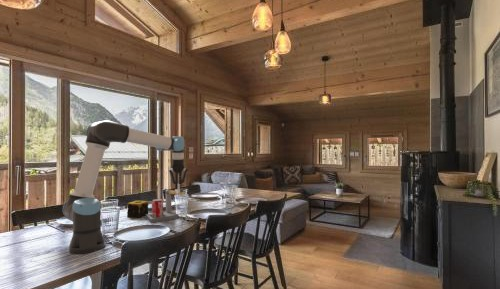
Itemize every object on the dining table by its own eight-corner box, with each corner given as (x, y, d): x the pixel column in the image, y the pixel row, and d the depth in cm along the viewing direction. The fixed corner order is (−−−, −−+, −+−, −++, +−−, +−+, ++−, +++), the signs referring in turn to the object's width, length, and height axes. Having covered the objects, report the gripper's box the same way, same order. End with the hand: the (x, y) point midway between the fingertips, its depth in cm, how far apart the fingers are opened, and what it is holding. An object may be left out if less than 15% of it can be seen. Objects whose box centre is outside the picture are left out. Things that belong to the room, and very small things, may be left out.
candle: (126, 217, 189) (126, 203, 189) (136, 214, 199) (136, 200, 199) (139, 218, 186) (139, 204, 186) (148, 215, 196) (148, 200, 196)
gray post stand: (151, 222, 176) (150, 199, 176) (145, 217, 188) (145, 195, 187) (178, 218, 186) (178, 195, 186) (171, 213, 198) (171, 192, 198)
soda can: (159, 220, 180) (159, 201, 180) (149, 220, 182) (149, 200, 182) (165, 217, 187) (165, 198, 187) (155, 217, 189) (155, 198, 189)
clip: (164, 193, 193) (164, 188, 193) (168, 192, 196) (168, 188, 196) (181, 195, 187) (181, 190, 187) (184, 194, 190) (184, 189, 190)
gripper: (170, 159, 181) (170, 195, 181) (189, 159, 188) (189, 193, 188) (167, 159, 187) (167, 193, 187) (185, 158, 194) (185, 192, 194)
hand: (178, 193), depth 187 cm, fingers closed
